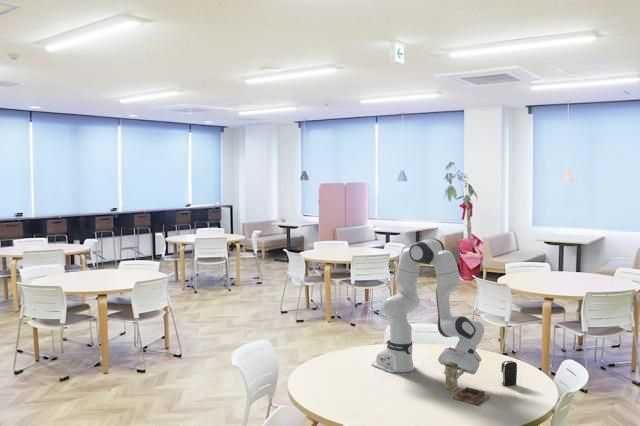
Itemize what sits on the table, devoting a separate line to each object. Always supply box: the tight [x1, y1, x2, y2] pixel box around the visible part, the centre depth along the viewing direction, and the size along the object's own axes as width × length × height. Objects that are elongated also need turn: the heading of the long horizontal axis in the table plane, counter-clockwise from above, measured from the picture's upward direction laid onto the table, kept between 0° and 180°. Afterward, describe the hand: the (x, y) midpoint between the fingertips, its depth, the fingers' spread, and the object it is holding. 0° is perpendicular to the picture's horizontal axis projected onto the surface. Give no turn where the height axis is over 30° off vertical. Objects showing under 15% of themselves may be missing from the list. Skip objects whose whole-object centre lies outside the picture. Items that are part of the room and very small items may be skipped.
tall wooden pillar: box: [445, 362, 459, 392], centre depth 270 cm, size 4×4×12 cm
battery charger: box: [500, 360, 518, 387], centre depth 275 cm, size 7×4×11 cm, turn 110°
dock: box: [452, 386, 491, 407], centre depth 259 cm, size 12×12×3 cm
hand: (450, 376), depth 269 cm, fingers closed on tall wooden pillar, 4 cm apart
